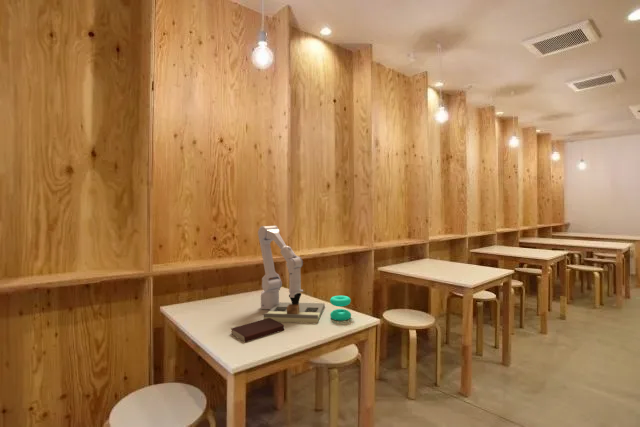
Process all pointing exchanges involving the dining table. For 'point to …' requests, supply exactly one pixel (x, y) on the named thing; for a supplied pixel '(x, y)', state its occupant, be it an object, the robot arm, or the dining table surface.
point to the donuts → (340, 313)
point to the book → (257, 329)
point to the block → (293, 309)
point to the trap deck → (301, 317)
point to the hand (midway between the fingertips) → (295, 308)
